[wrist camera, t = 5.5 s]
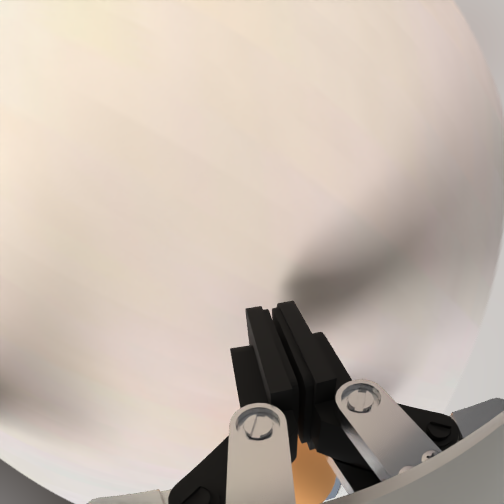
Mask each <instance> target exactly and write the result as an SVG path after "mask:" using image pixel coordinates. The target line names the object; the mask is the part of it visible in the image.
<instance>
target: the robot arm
mask: <svg viewBox="0 0 504 504" xmlns="http://www.w3.org/2000/svg"><path fill="white" fill-rule="evenodd" d="M272 318H273V320H272ZM272 318H271V315H270V313H269V310H268V309H266V310H263V309H262V307H261V306H259V307H253V308H246V319H247V327H248V336H249V344H250V346H243V347H237V348H230V350H231V356H232V362H233V368H234V374H235V380H236V386H237V391H238V397H239V402H240V409H239V410H238V411H236V412H235V413H234V415H233V416H232V418H231V421H230V425H229V436H228V437H227V438H226V439H225V440H224V441H223V442H222V443H221V444H220V445H218V446H217V447H216V448H215V449H214V450H213V451H212V452H211V453H210V454H209V455H208V456H207V457H206V458H205V459H204V460H203V461H202V462H201V463H200V464H198V465H197V466H196V467H195V468H194V469H193V470H192V471H191V472H190V473H189V474H187V475H186V476H185V477H184V478H183V479H182V480H181V481H179V482H178V483H177V484H176V485H175V486H174V487H173V489H170V490H166V491H161V492H160V490H159V489H157V490H152V491H147V492H141V493H134V494H127V495H120V496H111V497H101V498H96V499H92V500H91V501H90V502H88V503H87V504H296V501H295V492H294V483H293V473H292V463H293V462H294V460H295V459H296V458H297V443H298V436H299V439H300V441H301V443H302V444H303V443H307V444H308V447H309V450H313V449H316V451H317V452H318V453H321V454H323V455H325V457H326V460H327V462H328V463H329V465H330V467H331V468H332V470H333V471H334V473H335V474H336V476H337V477H338V479H339V481H340V482H341V484H342V485H343V487H344V488H345V490H346V491H347V493H348V494H349V495H346V496H343V497H340V498H337V499H334V500H330V501H327V502H324V503H320V504H504V399H500V398H495V399H490V400H488V401H485V402H482V403H480V404H476V405H474V406H471V407H468V408H464V409H461V410H458V411H455V412H452V413H451V415H450V416H447V415H444V414H441V413H436V412H431V411H427V410H422V409H418V408H414V407H409V406H405V405H401V404H397V403H396V402H395V401H394V400H393V399H392V398H391V397H390V396H389V395H388V393H387V392H386V391H385V390H384V389H383V388H382V387H381V386H379V385H378V384H377V383H374V382H372V381H369V380H363V379H361V380H353V381H352V379H351V378H350V376H349V374H348V373H347V371H346V369H345V368H344V366H343V364H342V363H341V361H340V360H339V358H338V356H337V355H336V353H335V351H334V350H333V348H332V346H331V345H330V343H329V342H328V340H327V338H326V337H325V335H324V334H323V333H322V332H318V333H313V334H312V333H311V331H310V329H309V327H308V325H307V324H306V322H305V320H304V318H303V317H302V315H301V313H300V311H299V310H298V308H297V306H296V304H295V303H294V301H289V302H283V303H278V304H277V308H273V309H272Z"/></svg>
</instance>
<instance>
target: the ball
mask: <svg viewBox="0 0 504 504" xmlns="http://www.w3.org/2000/svg"><path fill="white" fill-rule="evenodd" d="M292 473H293V483H294V492H295V501H296V504H320V503H322V502H323V501H324V500H325V499H326V498H327V497H328V495H329V494H330V492H331V491H332V489H333V486H334V484H335V480H336V474H335V473H334V471H333V470H332V468H331V467H330V465H329V463H328V462H327V460H326V457H325V455H323V454H321V453H318V452H317V451H316V449H313V450H309V447H308V444H307V443H303V444H302V443H301V441H300V439H299V436H298V443H297V458H296V459H295V460H294V462H293V463H292Z"/></svg>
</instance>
